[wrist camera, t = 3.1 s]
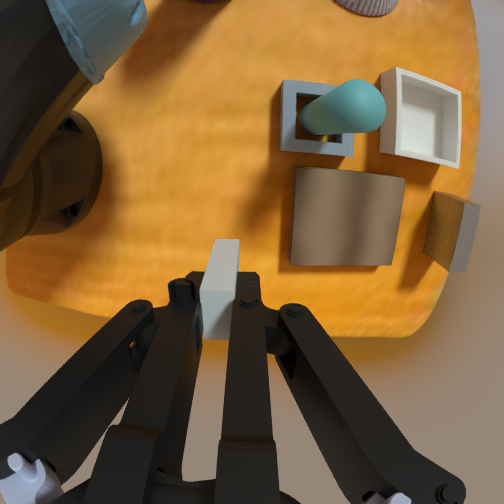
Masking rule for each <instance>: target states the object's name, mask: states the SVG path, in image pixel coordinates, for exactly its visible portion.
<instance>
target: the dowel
mask: <svg viewBox="0 0 504 504" xmlns="http://www.w3.org/2000/svg"><path fill="white" fill-rule="evenodd" d="M385 115H386V105H385V101H384V99H383V96H382V95H381V93H380V92H379V90H378V89H377V88H376V87H375V86H373V85H372V84H370V83H369V82H366V81H363V80H358V79H355V80H350V81H347V82H345V83H343V84H341V85H340V86H338V87H336V88H334V89H333V90H331V91H329V92H327V93H326V94H324V95H322V96H321V97H319V98H317V99H315V100H314V101H312V102H311V103H309V104H307V105H306V106H304V107H303V108H302V109H301V110H300V112H299V116H298V120H299V124H300V126H301V128H302V129H303V130H304V131H305V132H306V133H308V134H310V135H316V136H317V135H329V134H345V133H367V132H372V131H374V130H376V129H377V128H379V127H380V126H381V124H382V123H383V121H384V119H385Z"/></svg>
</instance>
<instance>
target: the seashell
mask: <svg viewBox="0 0 504 504" xmlns="http://www.w3.org/2000/svg"><path fill="white" fill-rule="evenodd" d="M334 1H335V0H334ZM336 1H337V2H338V3H339V4H341V5H343V6H344V7H345V8H348V9H350V10H352V11H353V12H354V11H355V12H356V13H359V14H364V16H365V15H366V16H367V15H368V16H370V15H372V16H375V15H377V16H379V15H382V16H384V15H385V14H388V13H389V12H391V11H392V10H393V9H394V8H395V6H396V5H397V2H398V1H397V0H336Z"/></svg>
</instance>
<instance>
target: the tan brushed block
mask: <svg viewBox="0 0 504 504" xmlns="http://www.w3.org/2000/svg"><path fill="white" fill-rule="evenodd" d="M404 187H405V178H401V177H398V176H393V175H385V174H378V173H370V172H361V171H352V170H341V169H330V168H317V167H302V166H293V183H292V202H291V219H290V234H289V249H288V260H289V263H290V265H292V266H374V265H391V264H392V259H393V254H394V250H395V245H396V239H397V234H398V228H399V222H400V216H401V210H402V203H403V195H404Z"/></svg>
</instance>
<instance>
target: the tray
mask: <svg viewBox="0 0 504 504" xmlns="http://www.w3.org/2000/svg"><path fill="white" fill-rule="evenodd" d="M381 95H382V96H383V99H384V101H385V105H386V115H385V119H384V121H383V123H382V124H381V126H380V145H379V152H381V153H387V154H393V155H398V156H404V157H409V158H414V159H418V160H423V161H427V162H432V163H436V164H440V165H445V166H449V167H453V168H457V169H459V162H460V148H461V92H460V91H458V90H456V89H453V88H451V87H449V86H447V85H444V84H442V83H439V82H437V81H435V80H432V79H429V78H427V77H424V76H421V75H419V74H416V73H413V72H410V71H407V70H404V69H401V68H398V67H395V68H392V69H390V70H387V71H385V72H383V73H381Z"/></svg>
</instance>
